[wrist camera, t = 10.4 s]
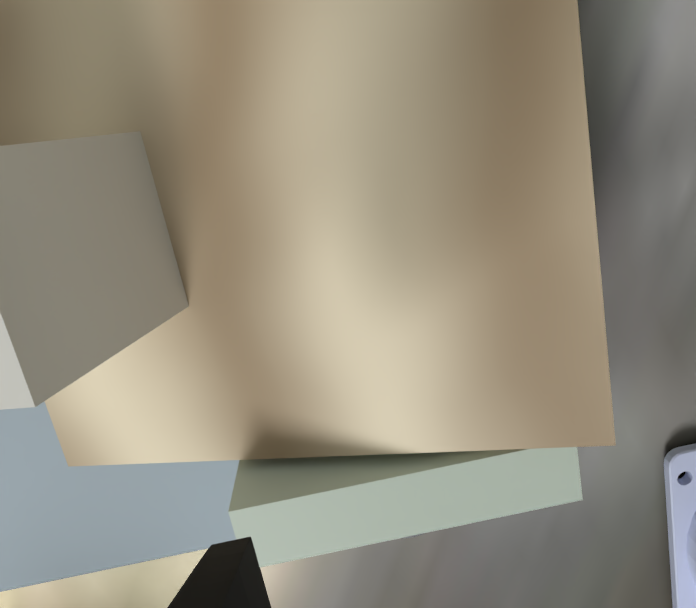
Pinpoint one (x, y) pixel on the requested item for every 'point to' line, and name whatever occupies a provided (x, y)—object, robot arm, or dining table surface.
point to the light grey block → (78, 260)
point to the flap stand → (389, 496)
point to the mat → (98, 506)
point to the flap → (336, 223)
